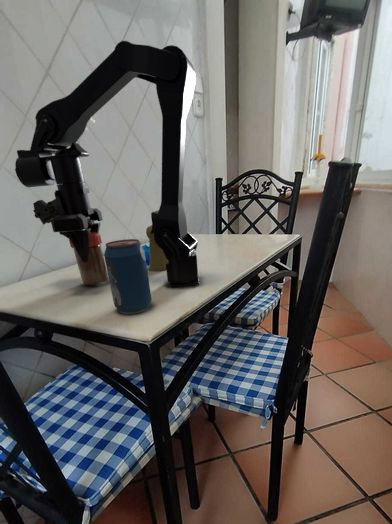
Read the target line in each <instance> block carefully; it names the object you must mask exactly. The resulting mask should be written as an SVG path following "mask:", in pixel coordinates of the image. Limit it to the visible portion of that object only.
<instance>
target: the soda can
mask: <svg viewBox="0 0 392 524" xmlns="http://www.w3.org/2000/svg"><path fill="white" fill-rule="evenodd" d="M103 256H104V260H105V265H106V269H107V273H108V277H109V279H108V282H109V287H110V291H111V296H112V301H113V305H114V307H115V308H116V309H117V311H118V312H119V313H121V314H125V315H135V314H139V313H143V312H145V311H147V310H148V309H149V308H150V305H151V304H152V293H151V285H150V280H149V273H148V266H147V259H146V253H145V249H144V248H143V246H142V245H141V242H140V239H135V238H130V239H129V238H128V239H127V238H126V239H119V240H118V239H117V240H112V241H109V242H106V243H105V250H104V253H103Z"/></svg>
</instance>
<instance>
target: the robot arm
mask: <svg viewBox="0 0 392 524" xmlns="http://www.w3.org/2000/svg"><path fill="white" fill-rule="evenodd" d="M196 74H197V73H196V70H195V67H194V65H193V63H192V62H191V60H190V59H189V58H188V56H187V55H186V54H185V52H184V51H183V50H182V49H181V48H180V47H179V46H177V45H172V44H170V45H165V47H163V48H160V47H159V48H158V47H156V46H153V45H148V44H136V43H133V42H130V41H128V40H121V41H119V42H118V43H117V44H116V45H115V47H114V50H113V51H112V52H111V53H110V54H109V55H108V56H106V57H105V59H104V60H103V61H102V62H101V63H100V64H98V65H97V67H95V68H94V69H93V70H92V72H90V73H89V74H88V75H87V76H86V78H84V79H83V81H81V82H80V83H79V84H78V86H76V88H74V89H73V91H71V92H70V93H69V94H68V95H66V96H65V97H61V98H58V99H56V100H52V101H51V102H48V104H46V105H44V106H42V107H41V108H39V110H38V111H37V112H36V114H35V117H34V118H35V128H34V133H33V137H32V140H31V145H30V148H29V149H18V150H17V149H16V154H17V158H16V160H15V164H14V165H15V166H14V167H15V168H14V171H15V174H16V177H17V179H18V180H19V182H20V183H21V184H22V185H23V186H24V187H26V188H39V187H47V186H48V187H49V186H54V185H55V184H56V190H54V191H53V193H54V197H55V198H54V199H53V200H50V201H47V202H46V201H44V200H43V199H38V200H37V201H35V202H33V203H32V204H33V210H32V211H33V212H34V217H35V218H36V219H39V220H40V222H41V223H42V225H44V226H45V225H46V224H51V229H52V232H53V233H59V235H61V236H63V237H65V238H67V239H68V240H69V239H70V241H71V242H72V244H73V246H74V247H75V249H76V251H77V253H78V255H79V256H80V258H81V260H82V262H87V261H88V254H89V243H90V232H99V233H100V227H101V222H102V221H103V214H102V211H100V210H99V209H98V208H96V207H95V208H93V207H91V203H90V200H89V195H88V194H90V189H89V187H87V186H86V181H85V176H84V173H83V172H84V171H83V168H82V164H81V159H80V158H87V157H89V156H90V153H89V152H88V151H87V150H85V149H84V148H83V147H82V146H81V145H80V143H77V142H78V140H79V139H80V138H81V136H82V135H83V134H84V132H85V131H86V127H87V125H88V123H89V121H90V119H91V118H92V117H93V116H94V115H96V114H97V112H98V111H100V110H101V109H102V108H103V107H104V106H105V105H106V104H108V102H110V101H111V100H112V99H113V98H114V97H115V96H116V95H117V94H118V93H120V92H121V91H122V90H123V89H124V88H125V87H126V86H128V84H129V83H131V81H132V80H133V79H135V78H136V79H140V80H143V81H146V82H149V83H151V84H154V85H155V88H156V95H157V99H158V103H159V107H160V112H161V120H162V121H161V122H162V124H161V125H162V126H161V131H162V132H161V190H160V191H161V192H160V193H161V195H160V196H161V197H160V206H159V208H158V210H155V211H152V212H151V213H150V216H151V217H150V218H151V225H152V230H151V234H153V233H154V241H155V243H156V244H157V245H158V246H159V247H160V248H161V249H162V250H163V252H164V254H165V257H166V259H168V262H166V270H165V271H166V279H167V283H169V287H170V288H176V287H177V288H178V287H189V286H199V285H200V279H199V271H198V270H199V269H198V258H197V257H198V256H197V252H196V251H197V248H198V244H199V241H198V240H197V239H196V238H195V237H194V236H193V235H192V234H191V233H190V232H188V224H187V223H188V222H187V216H186V213H185V207H184V204H183V203H184V202H183V199H184V198H183V197H184V196H183V195H184V173H185V155H186V154H185V153H186V130H187V119H188V115H189V112H190V109H191V105H192V102H193V98H194V93H195V86H196V82H197V81H196V80H197V75H196ZM95 221H97V222H95Z"/></svg>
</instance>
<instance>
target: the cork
mask: <svg viewBox="0 0 392 524" xmlns="http://www.w3.org/2000/svg"><path fill="white" fill-rule="evenodd" d="M151 230H152V224H151V225H148V226H147V227H146V229H145V234H146V237H147V238H148V241H149V243H148V247H149V249H148V250H149V253H148V254H149V270H150V271H154V272H160V271H161V272H162V271H166V262H168V259H166V257H165V254H164V252H163V250H162V249H161V248H160V247H159V246H158V245H157V244H156V243H155V241H154V233H153V234H151Z"/></svg>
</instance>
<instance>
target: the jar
mask: <svg viewBox="0 0 392 524" xmlns="http://www.w3.org/2000/svg"><path fill="white" fill-rule="evenodd" d="M72 250H73V253H74V257H75V261H76V265H77V267H78V271H79V275H80V278H81V282H82V284H83V285H96V284H97V285H98V284H101V283H104V282H106V281H109V277H108V272H107V267H106V262H105V257H104V253H103V249H102V243H101V244H99V245H96V246H92V247H89V254H88V261H87V262H82V260H81V258H80V256H79V255H78V253H77V251H76V249H75V248H72Z"/></svg>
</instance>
